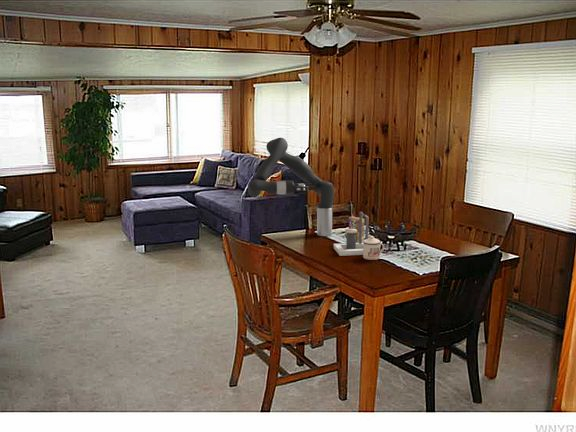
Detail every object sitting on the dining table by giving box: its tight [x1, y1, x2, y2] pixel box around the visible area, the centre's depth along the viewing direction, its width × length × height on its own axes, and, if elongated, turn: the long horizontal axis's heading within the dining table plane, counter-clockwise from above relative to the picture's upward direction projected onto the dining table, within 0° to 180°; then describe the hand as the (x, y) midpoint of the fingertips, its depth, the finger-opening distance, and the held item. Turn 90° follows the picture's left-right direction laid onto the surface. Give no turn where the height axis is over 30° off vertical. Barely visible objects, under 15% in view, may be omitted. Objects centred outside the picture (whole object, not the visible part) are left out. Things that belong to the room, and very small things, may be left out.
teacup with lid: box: [362, 235, 385, 261], centre depth 297 cm, size 12×9×12 cm
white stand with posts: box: [333, 211, 370, 257], centre depth 309 cm, size 16×20×21 cm
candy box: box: [348, 216, 365, 243], centre depth 326 cm, size 9×4×15 cm, turn 39°
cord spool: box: [344, 228, 357, 250], centre depth 310 cm, size 6×6×12 cm
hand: (313, 186), depth 311 cm, fingers open, 8 cm apart
